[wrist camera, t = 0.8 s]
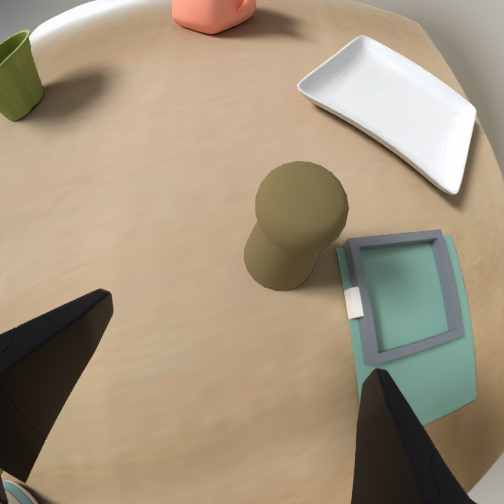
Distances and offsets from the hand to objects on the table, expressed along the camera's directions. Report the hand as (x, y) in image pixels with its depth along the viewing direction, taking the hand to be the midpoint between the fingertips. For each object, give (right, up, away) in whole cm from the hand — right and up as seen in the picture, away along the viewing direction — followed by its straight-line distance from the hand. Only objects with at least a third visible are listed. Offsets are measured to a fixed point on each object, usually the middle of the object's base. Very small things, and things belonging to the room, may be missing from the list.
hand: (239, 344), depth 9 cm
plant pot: (-34, +26, +22) cm, 48 cm away
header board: (+16, -5, +15) cm, 22 cm away
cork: (+3, +3, +16) cm, 17 cm away
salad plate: (+19, +21, +24) cm, 37 cm away
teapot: (-6, +41, +28) cm, 50 cm away
